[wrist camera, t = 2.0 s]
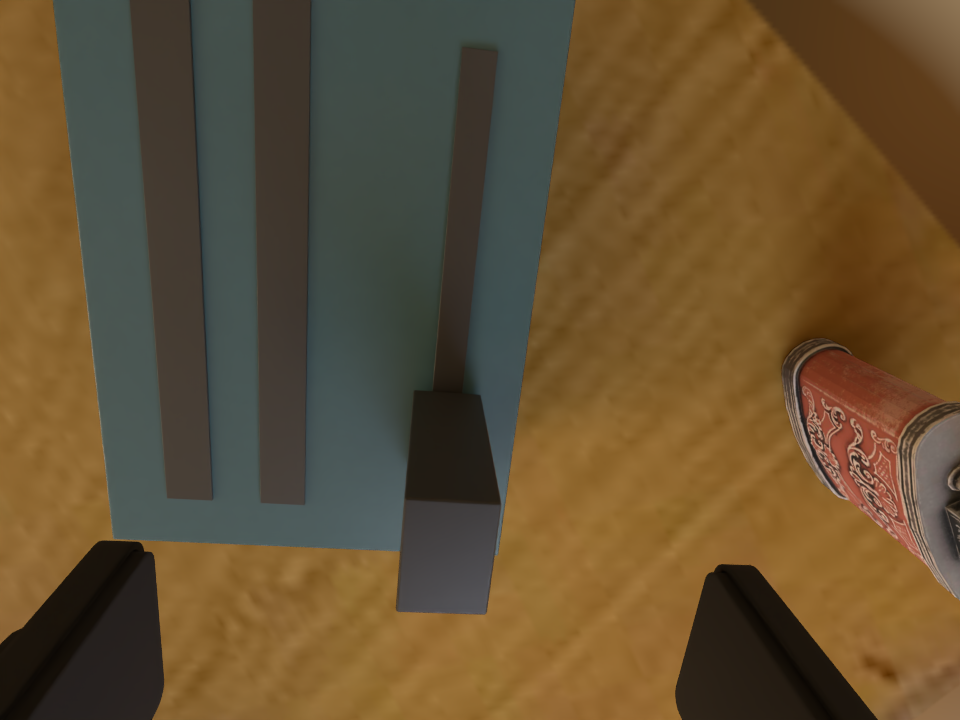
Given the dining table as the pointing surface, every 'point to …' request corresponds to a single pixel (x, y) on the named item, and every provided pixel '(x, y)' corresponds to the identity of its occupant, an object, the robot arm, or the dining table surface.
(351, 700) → the dining table surface
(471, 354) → the toaster
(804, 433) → the lighter
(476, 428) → the slider
